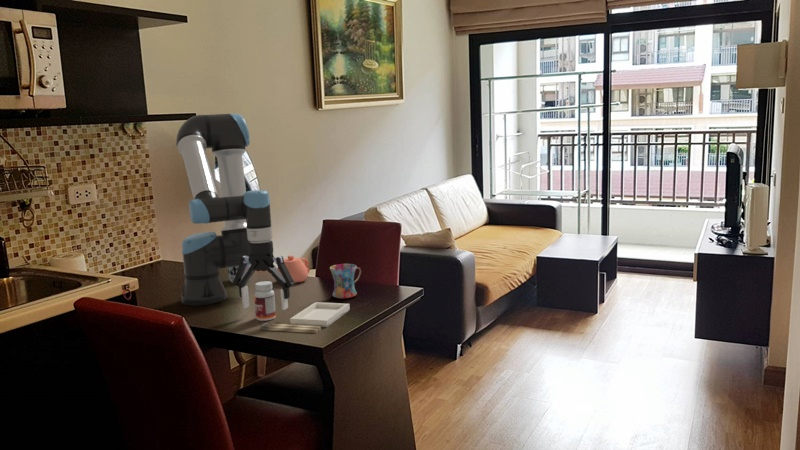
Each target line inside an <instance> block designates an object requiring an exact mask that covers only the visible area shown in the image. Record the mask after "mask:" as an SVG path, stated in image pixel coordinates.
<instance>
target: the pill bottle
mask: <svg viewBox="0 0 800 450" xmlns="http://www.w3.org/2000/svg"><path fill="white" fill-rule="evenodd" d="M254 285H255V287H254V289H255V290H256V291H255V292H254V294H253V298H254V310H255V319H256V320H257V321H260V322H266V321H271V320H274V319H276V316H277V313H276V300H275V299H276V298H275V297H276V296H275V291H274V290H273V282H272V281H270V280H269V281H268V280H267V281H258V282H256V283H255V284H254Z"/></svg>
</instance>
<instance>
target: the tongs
mask: <svg viewBox="0 0 800 450" xmlns="http://www.w3.org/2000/svg"><path fill="white" fill-rule="evenodd" d="M259 329H260V331H277V332H278V331H279V332H290V333H291V332H292V333H307V334H308V333H309V334H310V333H311V334H317V333H319V332H320V331H321V330H322V327H321V326H304V325H291V324H285V323H283V324H282V323H274V322H264V323H263V324H261V325H260V328H259Z"/></svg>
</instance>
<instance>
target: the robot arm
mask: <svg viewBox="0 0 800 450" xmlns="http://www.w3.org/2000/svg"><path fill="white" fill-rule="evenodd" d="M175 140H176V147H177V151H178V153H179V154H180V155H181V156H182V160H183V162H184V167H185V170H186V174H187V178H188V183H189V186H190V190H191V193H192V198H193V199H191V200H190V201H189V203H188V208H189V210H188V212H189V218H190V220H191V223H193V224H211V223H218V222H219V223H220V222H224V225H223V227H222V229H220V232H221V234H220V235H217V233H216V232H215V231H208V232H200V233H196V234H191V235H190V236H187V237H185V238H184V239H183V240H182V242H181V254H182V259H183V269H184V271H183V272H184V284H183V288H182V293H181V303H182V304H183V305H185V306H194V307H195V306H198V307H199V306H206V305H207V306H208V305H213V304H217V303H220V302H223V301H225V300H226V299H227V298H228V296H227V290H226V289H225V286H224V284H223V281H222V279H221V277H220V276H221V275H220V269H221V270H222V269H227V268H229V267H236V266H239V267H238V270H237V273H236V276H235V278H234V281H233V283H232V285H233V286H236V287H238V290H239V291H238V293H239V297H240V298H241V300H242V301H241V302H242V308H243V309H247V308H248V307H250V298H249V286H248V285H247V283H248V282H249V281H250V280H251V277H252V276H253V275H254V274H255V272H267V273H268V274H271V276H272V277H273V278H274V279H275V281H276V282H277V283H278V284H279V286H280V287H281V288H280V300H281V301H280V302H281V310H282V311H285V310H287V309H288V308H289V302H288V301H289V300H288V299H290V297H291V295H290V293H291V292H290V288H291V287H294V286H295V285H296V283H295V282H294V280H293V279H292V277H291V275H290V273H289V271H288V269H287V267H286V265H285V263H284V259H285V258H284V256H283V255H279V256H274V242H273V228H272V216H271V199H270V194H269V191H267V190H265V189H255V190H248V191H246V190H247V189H246V187H247V186H246V178H245V171H244V163H243V155H244V154H245V152H246V150H247V149H246V148H247V147H248V146H249V145H250V141H251V140H250V132H249V127H248V124H247V122H246V119H245V118H244V117H243V116H242V115H241V114H239V113H219V114H218V113H217V114H216V113H215V114H197V115H193V116H192V117H190V118H187V120H185V121H184V122H183V124H182V125H181V126H180V128H179V129H178V132H177V135H176V139H175ZM206 149H211V153H212V155H214V156H215V157H216V159H217V166H218V167H217V168H218V175H219V185H220V194H221V196H219V194H218V190H217V187H216V184H215V179H214V175H213V173H212V169H211V166H210V162H209V159H208V156H207V152H206ZM274 263H275V264H276V265H275V264H274ZM250 264H251V266H250V268H249V269H248V271H247V273H246V274H245V276H244V277H243V278H242V276H243V273H244V271H245V268H246V266H247V265H250ZM277 268H279V270H280V272H281V274H282V275H281V274H280V273H279V271H278V270H277ZM241 279H242V280H241ZM249 279H250V280H249ZM248 280H249V281H248Z"/></svg>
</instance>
